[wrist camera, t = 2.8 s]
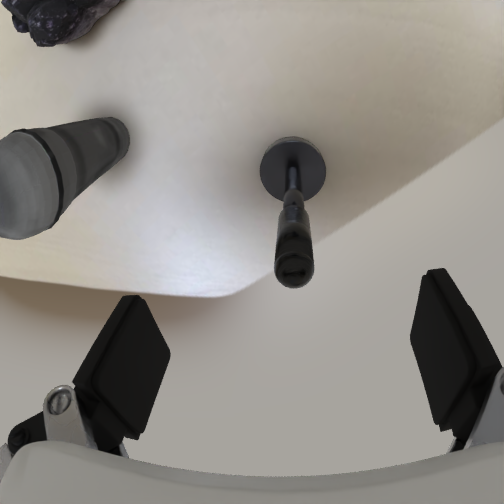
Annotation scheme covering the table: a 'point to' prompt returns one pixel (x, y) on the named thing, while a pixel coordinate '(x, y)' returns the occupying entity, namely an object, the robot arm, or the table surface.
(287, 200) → the disc-capped black rod
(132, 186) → the table surface
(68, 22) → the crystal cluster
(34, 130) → the beverage cup
